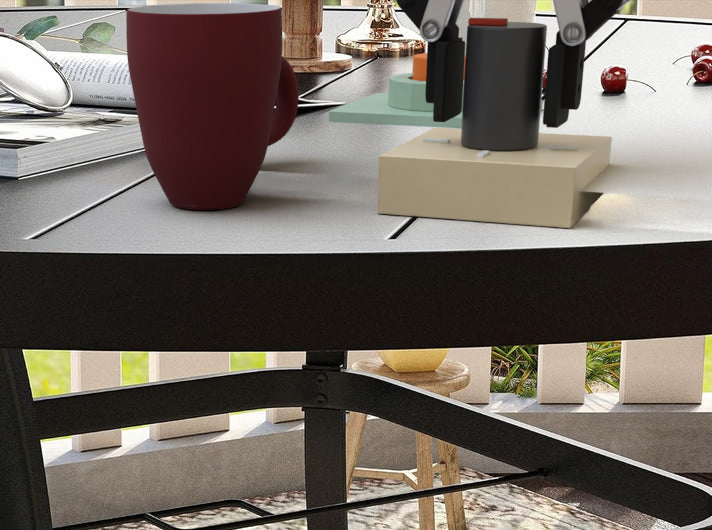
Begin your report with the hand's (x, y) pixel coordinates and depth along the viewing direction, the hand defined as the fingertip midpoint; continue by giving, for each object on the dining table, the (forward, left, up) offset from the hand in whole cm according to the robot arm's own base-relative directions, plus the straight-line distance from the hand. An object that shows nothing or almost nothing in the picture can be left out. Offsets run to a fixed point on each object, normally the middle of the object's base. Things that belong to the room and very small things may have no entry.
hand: (500, 117), depth 73 cm
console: (0, 0, -4) cm, 4 cm away
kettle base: (+9, -20, -4) cm, 22 cm away
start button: (+9, -20, -1) cm, 22 cm away
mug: (+14, +4, -5) cm, 16 cm away
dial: (0, 0, -1) cm, 1 cm away
